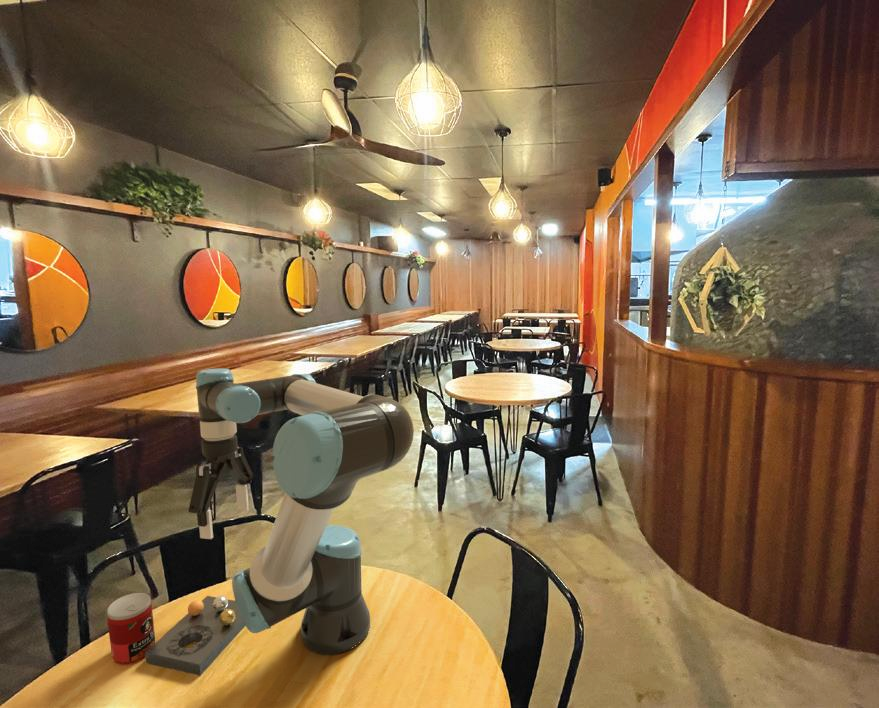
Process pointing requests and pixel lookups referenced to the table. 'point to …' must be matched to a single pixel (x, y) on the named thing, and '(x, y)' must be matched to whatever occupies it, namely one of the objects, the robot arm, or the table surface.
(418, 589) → the table surface
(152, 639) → the canned food
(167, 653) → the bearing plate
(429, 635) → the table surface
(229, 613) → the brass ball
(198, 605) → the orange ball
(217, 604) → the steel ball
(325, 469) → the robot arm
